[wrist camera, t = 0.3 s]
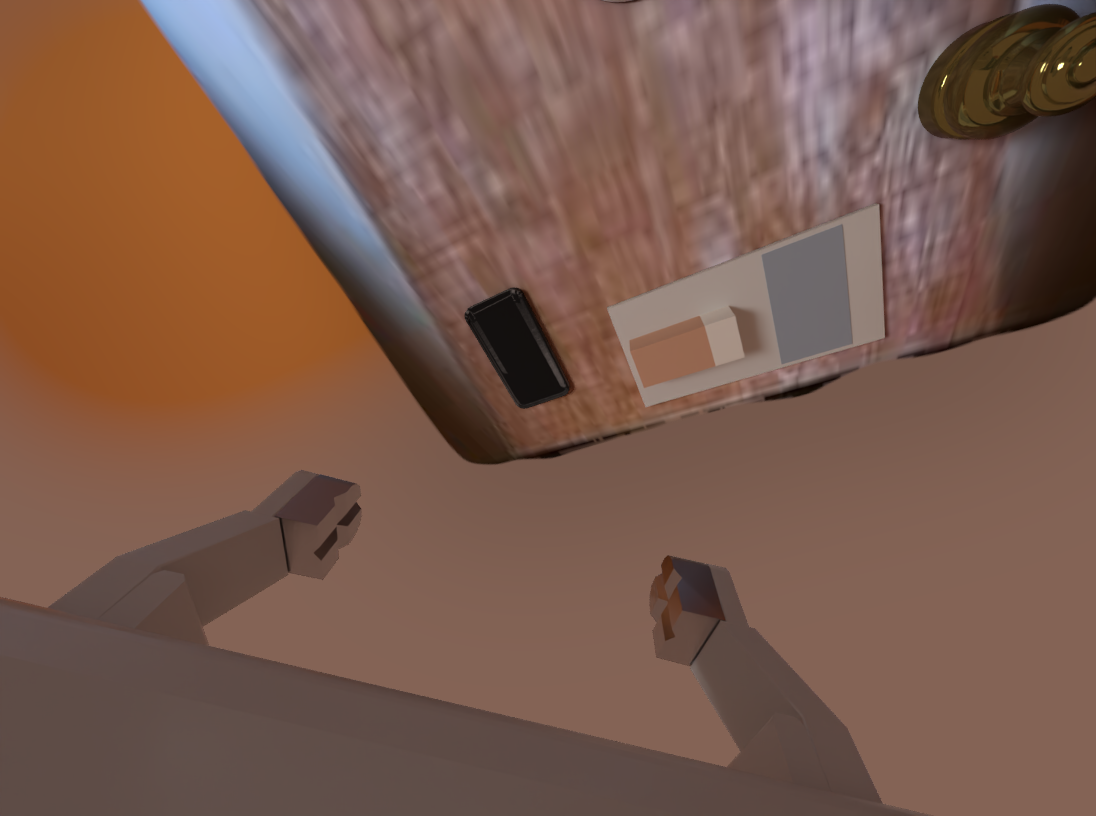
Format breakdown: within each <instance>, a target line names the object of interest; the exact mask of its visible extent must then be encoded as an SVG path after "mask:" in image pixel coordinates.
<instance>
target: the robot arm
mask: <svg viewBox="0 0 1096 816" xmlns="http://www.w3.org/2000/svg"><path fill="white" fill-rule="evenodd" d="M603 1H609V2H626V1H632V0H603ZM360 496H361V493H360V486H359V485H358V484H355V483H352V482H348V481H344V480H340V479H336V478H333V477H329V476H324V475H319V474H315V473H311V472H308V471H304V470H301V471H298V472H295V473H294V474H293V475H292V476H291V477H289V478H288V479H287V480H286V481H285V482H284V483H283V484H282V485H280V486H279V488H277V489H276V490H275V491H274V492H273V493H271V494H270V495H269V496H268V497H267V498H266V499H265V500H264V501H262V502H261V503H260V504H259V505H258V506H257V507H256V508H255V509H253V510H252V511H246V510H245V511H242V512H239V513H237V514H234V515H231V516H228V517H225V518H223V519H220V520H217V521H214V522H212V523H209V524H206V525H203V526H200V527H197V528H195V529H192V530H189V531H186V532H184V533H181V534H178V535H175V536H173V537H170V538H167V539H164V540H161V541H159V542H156V543H153V544H150V545H147V546H145V547H142V548H139V549H136V550H134V551H131V552H128V553H125V554H123V555H120V556H117V557H115V558H114V559H113V560H112V561H110V562H109V563H107V564H106V565H105V566H103V567H102V568H101V569H99V570H98V571H96V572H95V573H94V574H93V575H91V576H90V577H88V578H87V579H86V580H84V581H83V582H82V583H80V584H79V585H78V586H76V587H75V588H74V589H72V590H71V591H70V592H68V593H67V594H65V595H64V596H63V597H62V598H60V599H59V600H57V601H56V602H55V603H53V604H52V605H50V606H49V607H48V608H46V607H41V606H37V605H33V604H29V603H25V602H20V601H16V600H12V599H8V598H3V597H0V816H932V815H928V814H924V813H919V812H915V811H911V810H907V809H902V808H898V807H894V806H889V805H885V804H883V803H882V801H881V799H880V797H879V795H878V793H877V790H876V788H875V786H874V784H873V782H872V780H871V778H870V776H869V773H868V771H867V769H866V767H865V765H864V763H863V761H862V759H861V757H860V754H859V752H858V750H857V748H856V746H855V744H854V742H853V739H852V737H851V735H850V733H849V731H848V729H847V727H846V726H845V725H844V724H843V723H842V722H841V721H840V720H839V719H838V717H837V716H836V715H835V714H834V713H833V712H832V711H831V710H830V709H829V708H828V707H827V706H826V705H825V703H824V702H823V701H822V700H821V699H820V698H819V697H818V696H817V695H816V694H815V693H814V692H813V691H812V690H811V688H810V687H809V686H808V685H807V684H806V683H805V682H804V681H803V680H802V679H801V678H800V677H799V675H798V674H797V673H796V672H795V671H794V670H793V669H792V668H791V667H790V666H789V665H788V664H787V662H786V661H785V660H784V659H783V658H782V657H781V656H780V655H779V654H778V653H777V652H776V651H775V650H774V649H773V647H772V646H771V645H770V644H769V643H768V642H767V641H766V640H765V639H764V638H763V637H762V635H760V634H759V632H758V631H757V630H756V629H755V628H751V627H749V625H748V623H747V620H746V617H745V614H744V612H743V609H742V606H741V604H740V601H739V598H738V595H737V593H736V590H735V587H734V584H733V581H732V578H731V576H730V573H729V571H728V570H727V569H726V568H723V567H719V566H715V565H709V564H704V563H700V562H696V561H691V560H687V559H682V558H677V557H673V556H669V555H668V556H667V557H665V558H664V560H663V562H662V564H661V568H662V574H660V575H658V576H656V577H655V579H654V581H653V584H652V586H651V592H650V614H651V616H652V617H653V618H654V619H655V621H656V622H657V623H656V625H655V627H654V629H653V637H654V645H655V653H656V657H657V658H661V659H664V660H668V661H672V662H676V663H680V664H684V665H687V666H691V667H690V669H691V671H692V672H693V674H694V676H695V677H696V679H697V680H698V682H699V684H700V686H701V687H702V689H703V691H704V692H705V694H706V695H707V697H708V699H709V700H710V702H711V704H712V705H713V707H714V709H715V710H716V712H717V714H718V715H719V717H720V718H721V720H722V722H723V723H724V725H725V727H726V728H727V730H728V732H729V733H730V735H731V736H732V738H733V740H734V742H735V743H736V745H737V746H738V748H739V750H740V751H741V752H740V753H739V754H738V755H737V757H735V759H734V760H733V761H732V762H731V763H730V764H729V765H728V766H727V767H723V766H719V765H715V764H711V763H706V762H702V761H698V760H694V759H689V758H685V757H681V756H676V755H672V754H667V753H664V752H659V751H655V750H650V749H646V748H642V747H638V746H634V745H630V744H625V743H621V742H617V741H613V740H608V739H604V738H599V737H595V736H591V735H587V734H583V733H578V732H574V731H570V730H565V729H561V728H557V727H553V726H549V725H544V724H540V723H536V722H531V721H527V720H523V719H519V718H515V717H510V716H506V715H502V714H497V713H493V712H489V711H485V710H480V709H476V708H472V707H468V706H463V705H459V704H455V703H450V702H446V701H442V700H438V699H433V698H429V697H425V696H420V695H416V694H412V693H408V692H403V691H399V690H395V689H390V688H386V687H382V686H377V685H373V684H369V683H365V682H361V681H356V680H352V679H348V678H344V677H339V676H335V675H331V674H326V673H322V672H318V671H314V670H309V669H305V668H300V667H296V666H292V665H288V664H284V663H280V662H275V661H271V660H267V659H263V658H258V657H254V656H250V655H245V654H241V653H237V652H233V651H228V650H224V649H220V648H216V647H211V646H209V644H208V641H207V638H206V635H205V632H204V629H203V626H205V625H206V624H208V623H210V622H211V621H213V620H214V619H216V618H218V617H219V616H221V615H223V614H224V613H226V612H228V611H229V610H231V609H233V608H234V607H236V606H238V605H239V604H241V603H243V602H244V601H246V600H248V599H249V598H251V597H253V596H254V595H256V594H258V593H259V592H261V591H262V590H264V589H266V588H267V587H269V586H270V585H272V584H274V583H276V582H277V581H279V580H281V579H282V578H284V577H286V576H287V575H288V573H292V574H297V575H302V576H307V577H312V578H317V579H322V580H323V579H324V578H325V576H326V575H327V574H328V572H329V571H330V570H331V568H332V567H333V565H334V564H335V563H336V561H337V560H338V559H339V552H338V549H340V548H342V547H344V546H346V545H348V544H349V543H350V542H351V541H352V539H353V538H354V536H355V534H356V532H357V530H358V527H359V525H360V521H361V508H360V506H359V505H358V504H357V502H356V501H357V500H358V499H359V497H360Z"/></svg>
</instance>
